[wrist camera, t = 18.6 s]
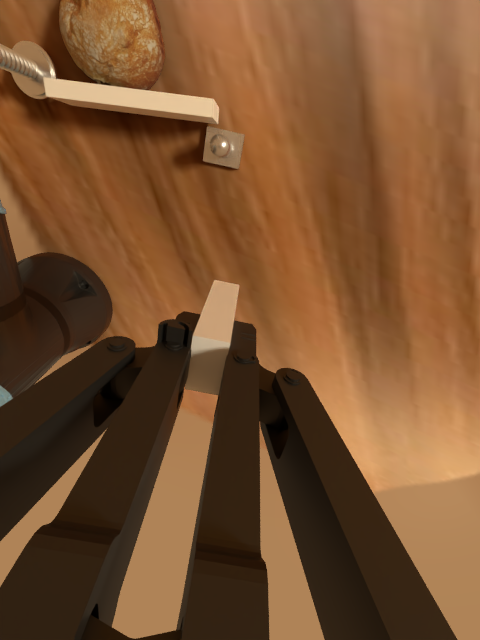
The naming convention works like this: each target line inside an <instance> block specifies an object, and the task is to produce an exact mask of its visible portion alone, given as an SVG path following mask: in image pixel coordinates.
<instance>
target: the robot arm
mask: <svg viewBox="0 0 480 640" xmlns="http://www.w3.org/2000/svg"><path fill="white" fill-rule="evenodd" d="M5 214H6V210H5V208H3V207H2V204H1V200H0V541H1V540H2V539H3V538H4V537H5V536H6V535H7V534H8V533H9V532H10V531H11V529H12V528H13V527H14V526H15V525H16V524H17V523H18V522H19V521H20V520H21V519H22V518H23V517H24V516H25V515H26V514H27V513H28V511H29V510H30V509H31V508H32V507H33V506H34V505H35V504H36V503H37V502H38V501H39V500H40V499H41V498H42V497H43V496H44V495H45V493H46V492H47V491H48V490H49V489H50V488H51V487H52V486H53V485H54V484H55V483H56V482H57V481H58V480H59V479H60V478H61V477H62V475H63V474H64V473H65V472H66V471H67V470H68V469H69V468H70V467H71V466H72V465H73V464H74V463H75V462H76V461H77V460H78V459H79V458H80V456H81V455H82V454H83V453H84V452H85V451H86V450H87V449H88V448H89V447H90V446H91V445H92V444H93V443H94V442H95V440H96V439H97V438H98V437H99V436H100V435H101V434H102V433H103V432H104V431H105V430H106V429H107V430H106V432H105V433H104V435H103V437H102V439H101V440H100V442H99V444H98V446H97V447H96V449H95V451H94V452H93V454H92V456H91V458H90V459H89V461H88V463H87V465H86V466H85V468H84V470H83V471H82V473H81V475H80V477H79V478H78V480H77V482H76V484H75V485H74V487H73V489H72V490H71V492H70V494H69V496H68V497H67V499H66V501H65V503H64V505H63V506H62V508H61V510H60V511H59V513H58V514H57V516H56V517H55V519H54V520H53V521H52V522H51V523H49V524H47V525H43V526H42V527H40V528H39V529H38V530H37V531H36V532H35V533H34V535H33V536H32V538H31V539H30V540H29V542H28V543H27V545H26V546H25V548H24V549H23V551H22V553H21V555H20V556H19V557H18V559H17V561H16V562H15V564H14V566H13V567H12V569H11V570H10V572H9V574H8V576H7V577H6V579H5V580H4V582H3V584H2V585H1V587H0V640H269V610H268V609H269V608H268V578H267V569H266V564H265V562H264V560H263V559H262V558H261V550H260V438H259V421H260V426H261V430H262V433H263V436H264V440H265V443H266V446H267V450H268V453H269V456H270V460H271V463H272V466H273V470H274V473H275V476H276V479H277V483H278V486H279V489H280V492H281V496H282V499H283V502H284V506H285V509H286V513H287V516H288V519H289V523H290V526H291V529H292V533H293V536H294V539H295V543H296V545H297V549H298V552H299V556H300V559H301V562H302V566H303V569H304V572H305V575H306V579H307V582H308V586H309V589H310V592H311V596H312V599H313V602H314V605H315V609H316V612H317V615H318V619H319V622H320V625H321V629H322V632H323V635H324V639H325V640H457V638H456V636H455V635H454V633H453V631H452V630H451V628H450V626H449V624H448V623H447V621H446V619H445V617H444V616H443V614H442V612H441V610H440V609H439V607H438V605H437V603H436V602H435V600H434V598H433V596H432V595H431V593H430V591H429V590H428V588H427V586H426V584H425V583H424V581H423V579H422V577H421V576H420V574H419V572H418V570H417V569H416V567H415V565H414V564H413V562H412V560H411V558H410V557H409V555H408V553H407V551H406V550H405V548H404V546H403V544H402V543H401V541H400V539H399V537H398V536H397V534H396V532H395V530H394V529H393V527H392V525H391V523H390V522H389V520H388V518H387V516H386V515H385V513H384V511H383V509H382V508H381V506H380V504H379V503H378V501H377V499H376V497H375V496H374V494H373V492H372V490H371V489H370V487H369V485H368V483H367V482H366V480H365V478H364V476H363V475H362V473H361V471H360V469H359V468H358V466H357V464H356V462H355V461H354V459H353V457H352V456H351V454H350V452H349V450H348V449H347V447H346V445H345V443H344V442H343V440H342V438H341V436H340V435H339V433H338V431H337V429H336V428H335V426H334V424H333V422H332V421H331V419H330V417H329V416H328V414H327V412H326V410H325V409H324V407H323V405H322V403H321V402H320V400H319V398H318V396H317V395H316V393H315V391H314V389H313V388H312V386H311V384H310V382H309V381H308V379H307V378H306V377H305V375H303V374H302V373H301V372H299V371H297V370H295V369H291V368H281V369H279V370H277V372H276V374H275V373H273V372H271V371H268V370H266V369H265V368H263V367H262V366H261V365H260V364H259V360H258V358H257V357H256V329H255V327H254V326H253V325H252V324H248V323H243V322H239V321H234V317H235V310H236V304H237V297H238V291H239V285H237V284H232V283H227V282H222V281H218V280H214V282H213V285H212V288H211V290H210V293H209V295H208V298H207V300H206V303H205V305H204V308H203V311H202V313H201V315H200V314H195V313H190V312H185V311H184V312H182V313H180V314H179V315H177V317H176V319H171V320H165V321H162V322H161V323H160V324H159V328H158V340H157V344H156V345H155V346H153V347H146V348H135V342H134V341H133V340H131V339H129V338H127V337H122V336H114V337H108V338H106V339H104V340H102V341H100V342H99V343H97V344H96V345H94V346H92V347H91V348H89V349H88V350H86V351H85V352H83V353H82V354H80V355H79V356H77V357H76V358H74V359H73V360H71V361H70V362H68V363H66V364H65V365H63V366H62V367H60V368H59V369H57V370H56V371H54V372H53V373H51V374H50V375H48V376H47V377H45V378H43V379H42V380H41V381H39V382H38V383H36V382H37V380H39V379H40V378H41V377H42V376H43V375H44V374H45V373H46V372H47V371H48V370H49V369H50V368H51V367H52V366H53V365H54V364H55V363H56V362H57V361H58V360H59V359H60V358H61V357H62V356H63V355H65V354H68V353H70V352H73V351H75V350H77V349H79V348H83V347H86V346H88V345H90V344H92V343H93V342H95V341H96V340H97V339H98V338H99V337H100V336H101V335H102V334H103V333H104V332H105V331H106V329H107V328H108V326H109V324H110V322H111V318H112V303H111V299H110V296H109V293H108V291H107V289H106V287H105V285H104V284H103V282H102V281H101V280H100V278H99V277H98V276H97V275H96V274H95V273H94V272H93V271H92V270H91V269H90V268H89V267H87V266H86V265H84V264H83V263H81V262H80V261H78V260H76V259H74V258H72V257H69V256H66V255H63V254H58V253H40V254H36V255H33V256H31V257H28V258H25V259H23V260H21V261H19V262H18V263H17V261H16V257H15V253H14V249H13V246H12V242H11V238H10V234H9V230H8V226H7V222H6V217H5ZM35 383H36V384H35ZM185 384H186V386H185ZM184 387H185V389H188V390H193V391H199V392H204V393H209V394H215V395H219V396H218V400H217V405H216V410H215V414H214V422H213V428H212V434H211V439H210V445H209V451H208V456H207V463H206V468H205V474H204V480H203V485H202V490H201V496H200V502H199V508H198V514H197V519H196V524H195V530H194V536H193V542H192V548H191V553H190V558H189V564H188V570H187V575H186V581H185V587H184V593H183V599H182V603H181V609H180V614H179V619H178V624H177V629H176V631H171V632H167V633H162V634H157V635H152V636H148V637H143V638H138V639H132V638H129V637H127V636H125V635H123V634H122V633H120V632H119V631H117V630H115V629H114V628H112V623H113V619H114V615H115V611H116V607H117V602H118V598H119V594H120V590H121V587H122V584H123V581H124V577H125V575H126V571H127V568H128V565H129V562H130V559H131V556H132V553H133V550H134V547H135V543H136V541H137V537H138V534H139V531H140V528H141V525H142V522H143V519H144V516H145V513H146V510H147V507H148V503H149V500H150V497H151V494H152V491H153V488H154V485H155V482H156V478H157V476H158V473H159V469H160V466H161V463H162V460H163V457H164V454H165V451H166V447H167V445H168V442H169V438H170V435H171V432H172V429H173V426H174V423H175V420H176V417H177V413H178V411H179V408H180V405H181V401H182V398H183V393H184Z"/></svg>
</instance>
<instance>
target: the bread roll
mask: <svg viewBox="0 0 480 640" xmlns="http://www.w3.org/2000/svg"><path fill="white" fill-rule="evenodd" d="M59 26H60V31H61V35H62V38H63V41H64V44H65V46H66V48H67V50H68V52H69V54H70V56H71V57H72V59H73V60H74V62H75V64H76V65H77V66H78V67H79V68H80V69H81V70H82V71H83V72H84V73H85V74H86V75H87V76H88V77H90V78H91V79H92V80H95V81H96V82H97V83H98V84H101V85H108V86H116V87H124V88H132V89H140V90H149V89H150V88H151V87H152V86H153V85H154V84H155V82H156V81H157V80H158V78H159V76H160V74H161V71H162V68H163V64H164V60H165V49H164V42H163V37H162V34H161V27H160V22H159V19H158V15H157V13H156V8H155V5H154V2H153V0H61V1H60V5H59Z"/></svg>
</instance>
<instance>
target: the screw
mask: <svg viewBox="0 0 480 640" xmlns="http://www.w3.org/2000/svg"><path fill="white" fill-rule="evenodd" d="M0 68H1V69H4V70H6V71H9V72H11V73H12V76H13V79H14V80H15V82H16V84H17V85H18V86H19V88H20V89H21V90H22V91H23V92H24V93H25V94H27V95H28V96H30V97H33V98H35V99H40V100H42V99H47V98H49V97H47V96H46V93H45V86H44V80H43V77H46V78H54V79H57V72H56V68H55V65H54V63H53V61H52V59H51V57H50V56H49V54H48V53H47V52H46V51H45V50H44V49H43V48H42V47H41V46H39V45H37V44H35V43H34V42H30V41H21V42H18V43H17V44H16V45H15V46H14V47H13V48H12V49H10V48H7V47H6V46H4V45H2V44H0Z"/></svg>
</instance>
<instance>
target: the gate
mask: <svg viewBox="0 0 480 640" xmlns="http://www.w3.org/2000/svg"><path fill="white" fill-rule="evenodd" d="M43 80H44V86H45V93H46V96H47V97H49V98H52V99H55V100H58V101H61V102H63V103H66V104H69V105H72V106H78V107H86V108H94V109H102V110H110V111H118V112H125V113H133V114H141V115H149V116H157V117H165V118H173V119H180V120H188V121H196V122H204V123H212V124H218V117H219V107H218V106H217V104H216V102H215V100H214V99H210V98H202V97H195V96H187V95H179V94H171V93H163V92H155V91H148V90H140V89H132V88H124V87H116V86H108V85H101V84H93V83H85V82H77V81H69V80H62V79H54V78H46V77H43Z"/></svg>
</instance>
